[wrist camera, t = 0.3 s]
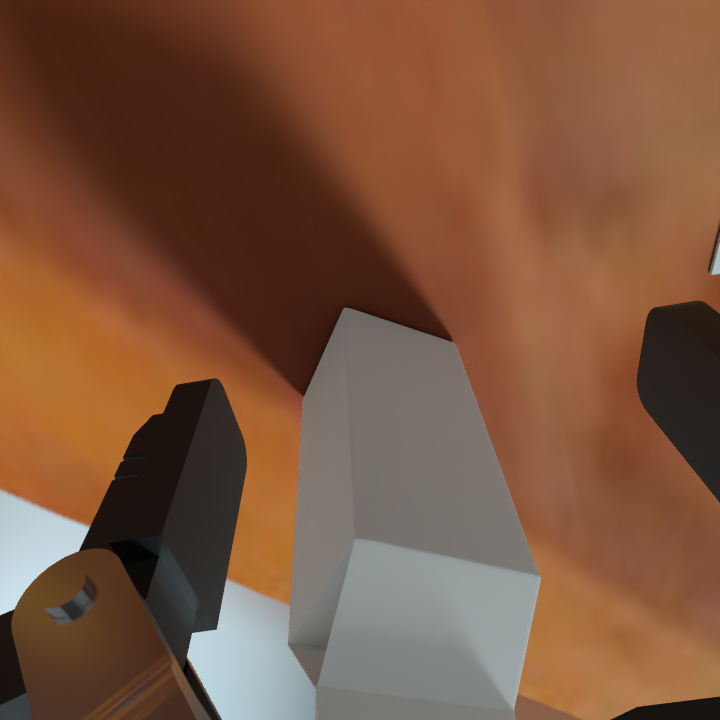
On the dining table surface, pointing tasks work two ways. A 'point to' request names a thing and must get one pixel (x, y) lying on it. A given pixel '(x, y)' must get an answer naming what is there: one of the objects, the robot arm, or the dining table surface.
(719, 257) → the runner
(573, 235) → the dining table surface
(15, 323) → the dining table surface
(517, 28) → the dining table surface
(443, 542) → the milk carton
